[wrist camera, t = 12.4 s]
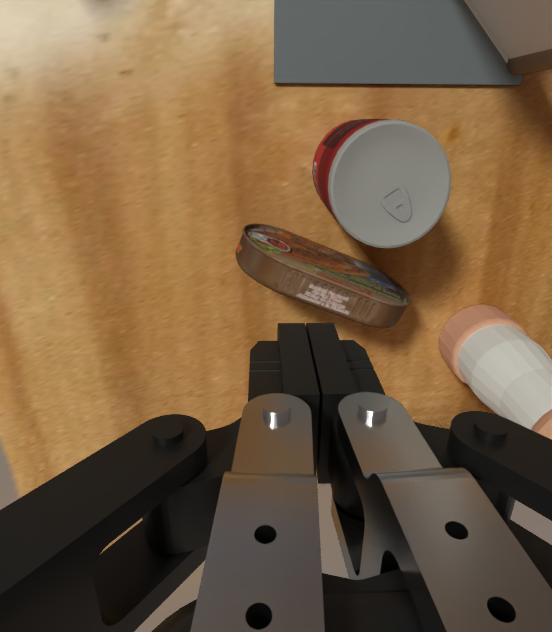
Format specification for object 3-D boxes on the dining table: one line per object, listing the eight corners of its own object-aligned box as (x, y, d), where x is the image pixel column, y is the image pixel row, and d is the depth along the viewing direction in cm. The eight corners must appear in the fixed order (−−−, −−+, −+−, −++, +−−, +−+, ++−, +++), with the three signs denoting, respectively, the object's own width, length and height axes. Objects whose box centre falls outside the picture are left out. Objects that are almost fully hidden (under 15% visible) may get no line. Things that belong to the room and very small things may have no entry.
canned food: (360, 234, 41) (393, 272, 31) (291, 175, 39) (302, 196, 28) (422, 163, 38) (479, 179, 28) (352, 97, 36) (388, 89, 26)
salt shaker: (423, 344, 45) (526, 486, 28) (478, 289, 43) (628, 407, 26) (471, 382, 47) (597, 538, 30) (527, 332, 45) (697, 468, 28)
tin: (397, 275, 42) (428, 310, 35) (381, 304, 44) (408, 345, 36) (246, 213, 40) (243, 236, 32) (233, 246, 41) (227, 276, 33)
